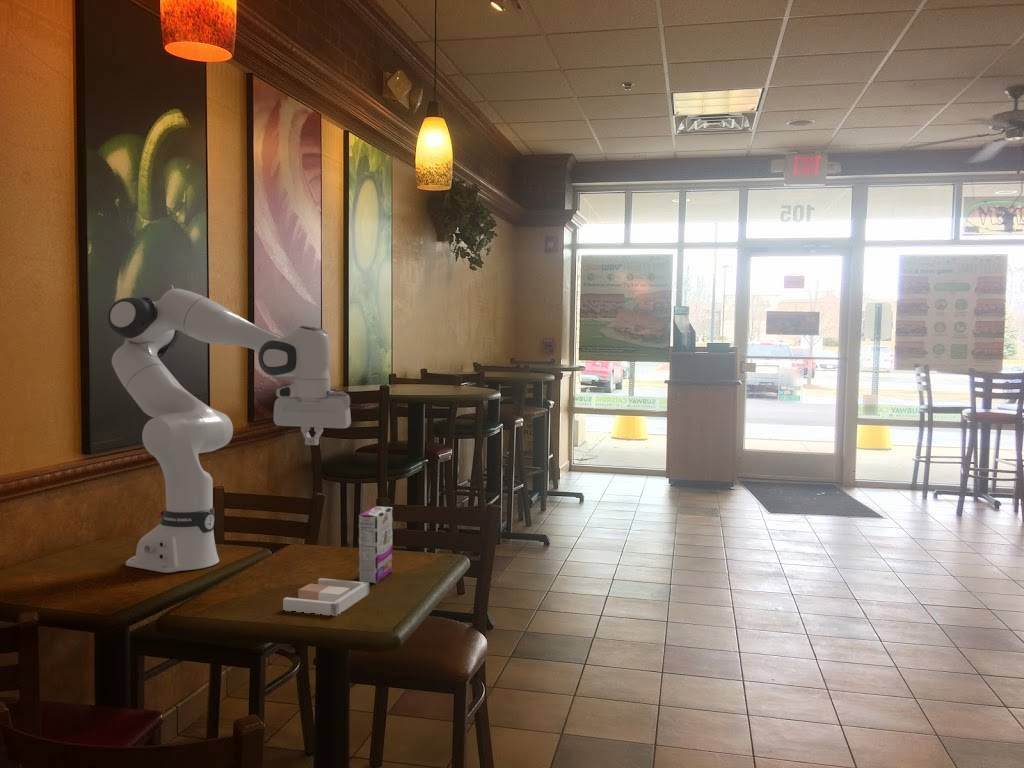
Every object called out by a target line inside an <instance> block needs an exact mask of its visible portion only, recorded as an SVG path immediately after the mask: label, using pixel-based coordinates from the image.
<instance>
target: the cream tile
mask: <svg viewBox="0 0 1024 768" xmlns="http://www.w3.org/2000/svg"><path fill="white" fill-rule="evenodd" d="M348 592H350V588H345V587H335V586H328V587H327V588H325V589H323V590H322V591H320V592H319V596H318V601H328V602H334V601H336V600H338V599H339V598H341V597H342V596H344V595H345V594H347V593H348Z"/></svg>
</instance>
